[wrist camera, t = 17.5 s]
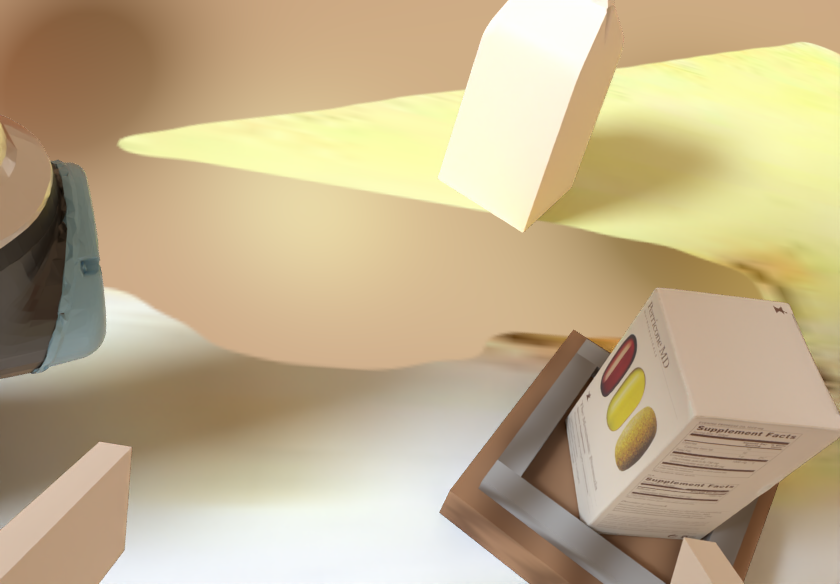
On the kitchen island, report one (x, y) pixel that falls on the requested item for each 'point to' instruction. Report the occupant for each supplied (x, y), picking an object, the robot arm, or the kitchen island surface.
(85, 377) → the kitchen island surface
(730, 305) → the supplement box
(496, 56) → the milk
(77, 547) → the robot arm
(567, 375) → the display riser
